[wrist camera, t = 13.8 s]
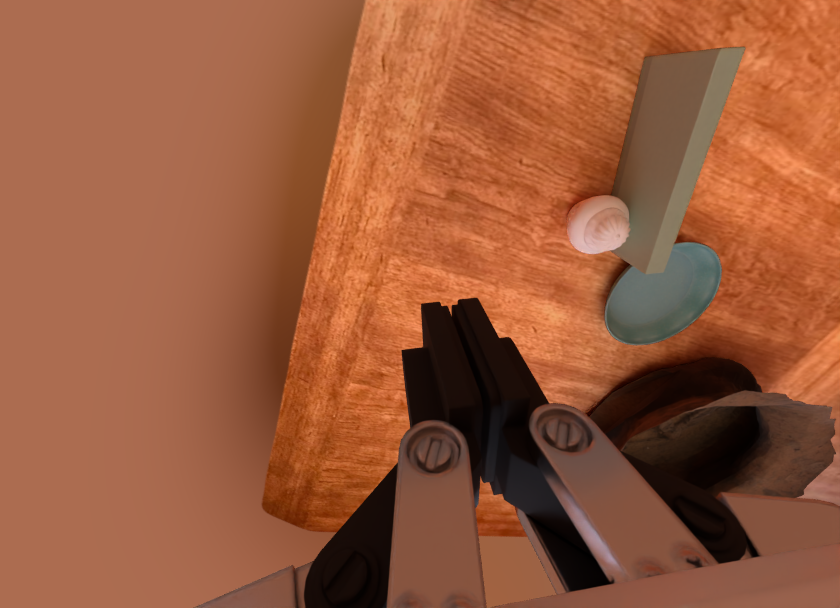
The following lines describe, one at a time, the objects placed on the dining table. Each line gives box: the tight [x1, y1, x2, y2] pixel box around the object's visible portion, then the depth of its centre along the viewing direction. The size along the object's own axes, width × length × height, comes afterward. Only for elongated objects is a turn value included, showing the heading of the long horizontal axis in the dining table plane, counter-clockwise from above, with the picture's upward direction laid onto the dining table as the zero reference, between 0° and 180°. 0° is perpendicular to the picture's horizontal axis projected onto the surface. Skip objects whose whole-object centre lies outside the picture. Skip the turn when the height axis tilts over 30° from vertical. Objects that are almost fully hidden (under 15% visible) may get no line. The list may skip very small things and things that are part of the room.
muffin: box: [567, 195, 631, 254], centre depth 36 cm, size 6×6×7 cm
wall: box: [609, 47, 745, 274], centre depth 33 cm, size 18×5×8 cm, turn 3°
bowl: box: [589, 358, 836, 498], centre depth 55 cm, size 34×33×15 cm
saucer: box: [605, 242, 722, 345], centre depth 44 cm, size 15×15×3 cm
